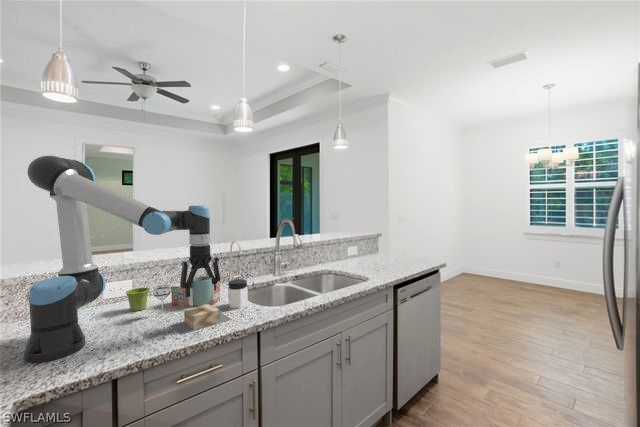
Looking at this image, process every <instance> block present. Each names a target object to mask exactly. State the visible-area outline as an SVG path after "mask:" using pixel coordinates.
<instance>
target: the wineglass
mask: <svg viewBox="0 0 640 427" xmlns="http://www.w3.org/2000/svg"><path fill="white" fill-rule="evenodd" d="M152 289H153V292H152V295H153V297H154V298H156V299H157V300H160V303H161V304H160V305H161V312H159V313H157V314H155V317H158V316H162V315H167V314H168V312H164V300H165V299H166V298H168V297H169V296H170V295H171V285H169V284H161V285H157V286H153V287H152Z"/></svg>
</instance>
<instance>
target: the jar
mask: <svg viewBox="0 0 640 427" xmlns="http://www.w3.org/2000/svg"><path fill="white" fill-rule="evenodd" d="M247 282H248V280H246V279H244V278H243V279H241V278H239V279H238V278H237V279H232V280H229V281H228V287H227V290H228V291H227V297H228V307H229V308H230V309H241V308H243V309H246V308H248V306H249V297H248V295H249V294H248V293H249V292H248V291H249V290H248V283H247Z"/></svg>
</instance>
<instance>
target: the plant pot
mask: <svg viewBox="0 0 640 427" xmlns="http://www.w3.org/2000/svg"><path fill="white" fill-rule="evenodd" d="M150 289H151V288H149V287H136V288H132V289H129V290H126V291H125V295H126V296H127V299H128V303H129V309H130V311H131V312H137V311H143V310H146V308H147V305H148V304H147V302H148V295H149V292H150Z"/></svg>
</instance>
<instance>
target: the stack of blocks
mask: <svg viewBox="0 0 640 427" xmlns="http://www.w3.org/2000/svg"><path fill="white" fill-rule="evenodd" d="M220 282H221V280H220V281H218V282H217V284H216V291H214V300H210V301H209V302H208V303H207V304H210V305H215V304H217V303H218V302H219V301H220V300H221V284H220ZM170 290H171V292H170V294H171V305H172V306H184V307H185V306H186V307H187V306H188V307H190V306H191V307H197V306H201V305H196V304H194V303H193V305H189V304H188V297H187V296H186V292H185V288H182V287H180V282H177V283H175V284H174V285H170Z"/></svg>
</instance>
